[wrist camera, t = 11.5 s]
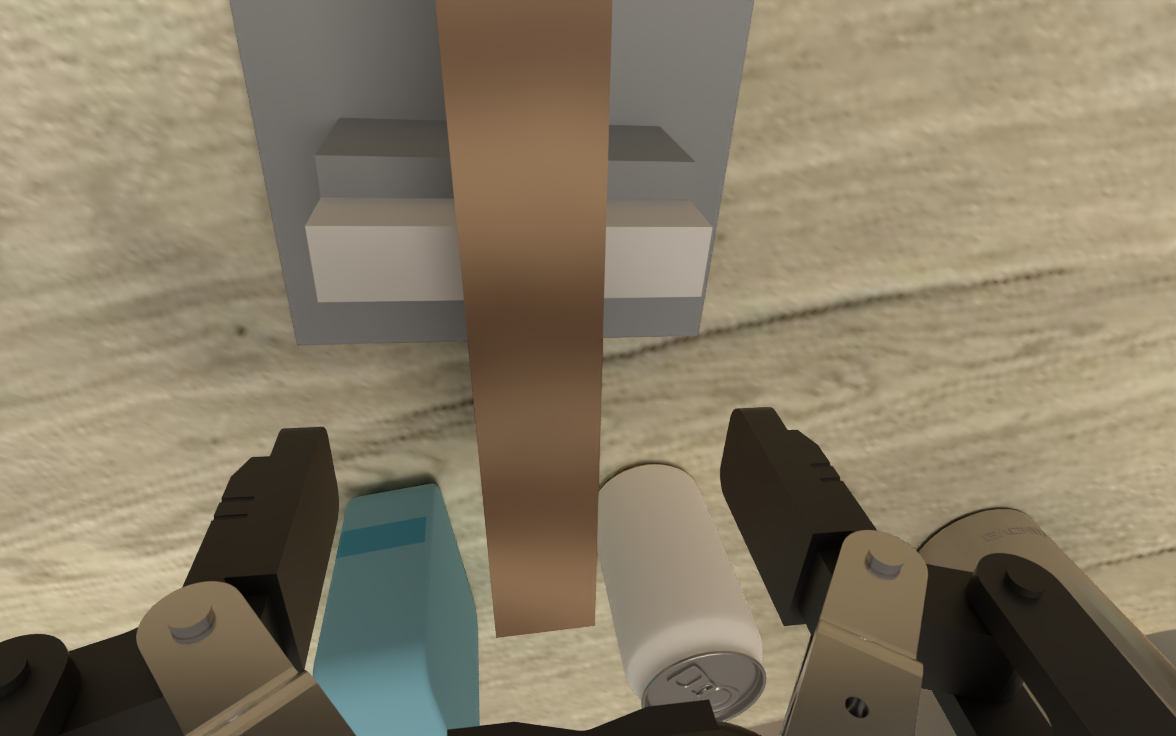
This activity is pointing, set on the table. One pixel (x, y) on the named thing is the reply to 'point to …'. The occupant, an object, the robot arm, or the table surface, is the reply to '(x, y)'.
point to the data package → (400, 620)
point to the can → (675, 595)
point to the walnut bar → (533, 286)
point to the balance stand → (423, 167)
